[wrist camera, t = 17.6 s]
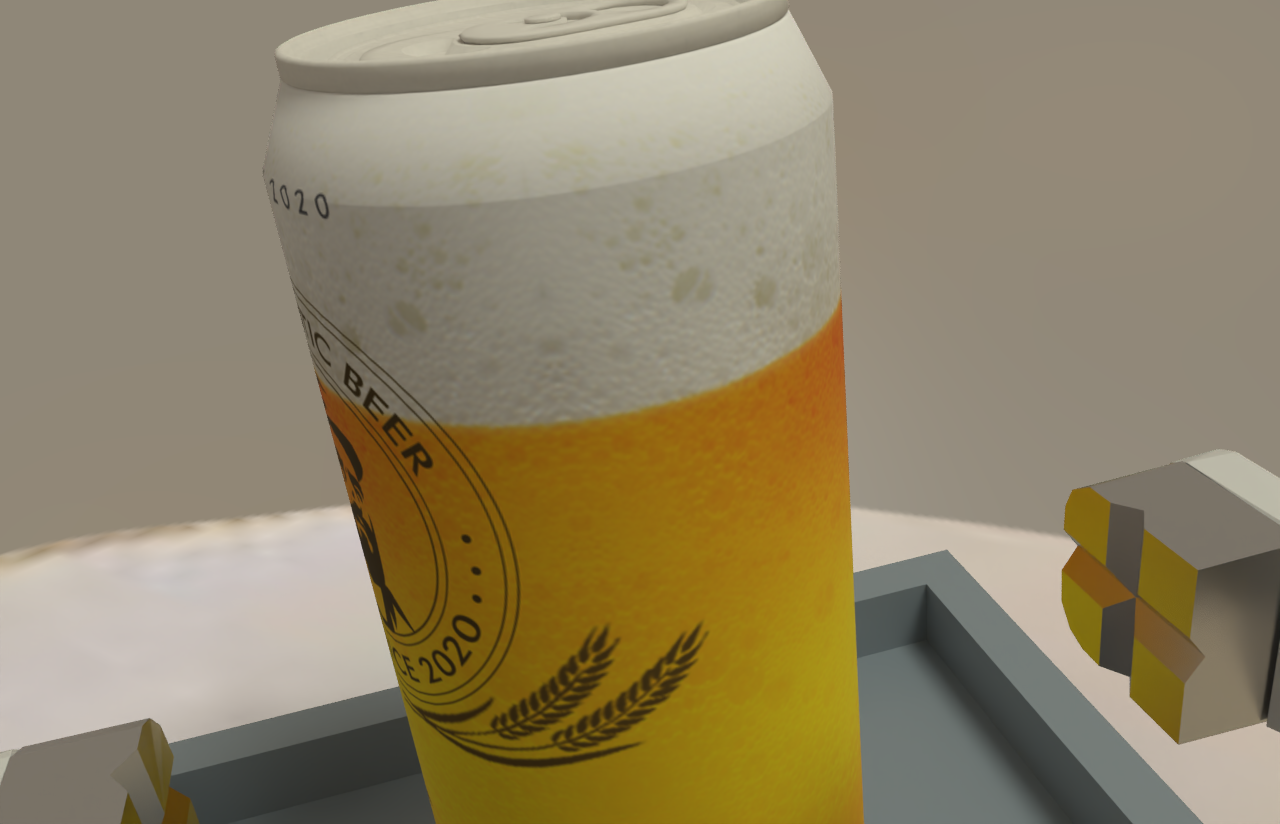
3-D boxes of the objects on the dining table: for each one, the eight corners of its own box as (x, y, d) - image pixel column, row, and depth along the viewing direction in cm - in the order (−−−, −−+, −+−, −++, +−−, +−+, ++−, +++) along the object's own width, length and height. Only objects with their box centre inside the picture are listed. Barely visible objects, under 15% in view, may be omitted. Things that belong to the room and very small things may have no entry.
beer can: (442, 933, 20) (192, 38, 13) (740, 787, 22) (653, -41, 16) (588, 1267, 15) (304, 103, 8) (954, 1037, 17) (958, -28, 11)
